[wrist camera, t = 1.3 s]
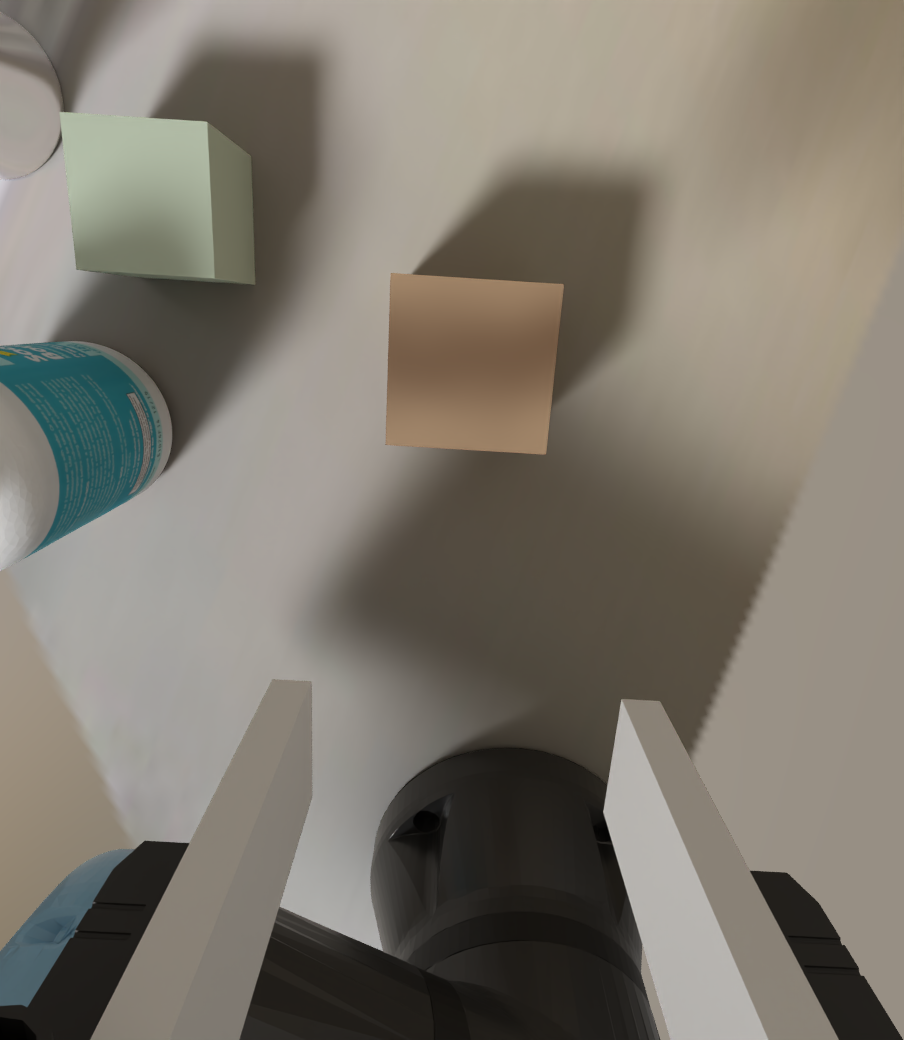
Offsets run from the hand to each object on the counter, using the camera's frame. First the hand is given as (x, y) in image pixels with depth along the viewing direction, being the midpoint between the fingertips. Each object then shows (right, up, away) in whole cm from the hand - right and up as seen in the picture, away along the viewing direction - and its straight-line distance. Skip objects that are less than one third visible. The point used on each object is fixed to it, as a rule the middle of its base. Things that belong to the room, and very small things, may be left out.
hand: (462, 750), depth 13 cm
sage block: (-11, +17, +15) cm, 25 cm away
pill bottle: (-17, +9, +17) cm, 26 cm away
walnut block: (+1, +12, +16) cm, 20 cm away
